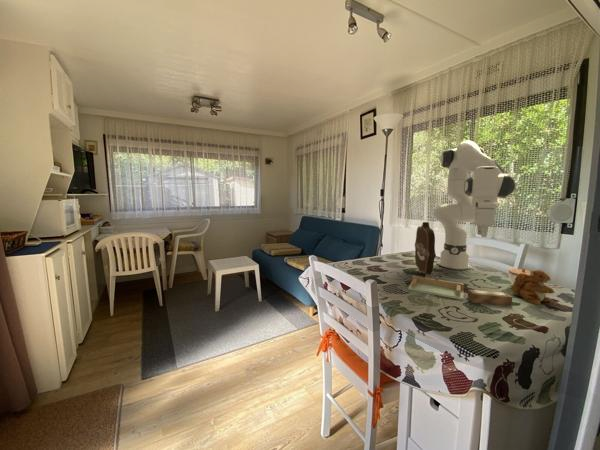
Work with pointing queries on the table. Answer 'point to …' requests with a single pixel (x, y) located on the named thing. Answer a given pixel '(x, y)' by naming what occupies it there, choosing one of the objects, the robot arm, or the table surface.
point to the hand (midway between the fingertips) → (481, 235)
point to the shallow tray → (437, 287)
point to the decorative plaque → (425, 249)
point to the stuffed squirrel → (532, 286)
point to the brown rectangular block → (489, 297)
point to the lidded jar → (515, 272)
